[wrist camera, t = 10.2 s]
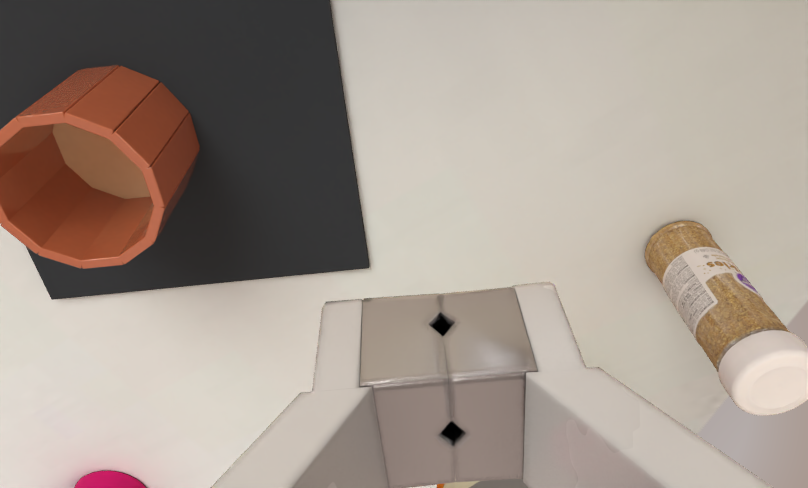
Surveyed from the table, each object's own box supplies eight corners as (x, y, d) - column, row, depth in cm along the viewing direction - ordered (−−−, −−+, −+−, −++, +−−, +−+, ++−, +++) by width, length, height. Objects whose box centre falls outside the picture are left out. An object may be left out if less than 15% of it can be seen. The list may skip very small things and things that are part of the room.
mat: (-112, -49, 33) (-118, -48, 32) (315, -97, 32) (314, -96, 32) (54, 296, 44) (51, 299, 44) (369, 265, 44) (369, 268, 43)
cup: (174, 58, 36) (24, 74, 36) (130, 104, 29) (-52, 124, 29) (213, 193, 40) (80, 207, 40) (182, 259, 34) (24, 275, 34)
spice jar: (722, 229, 43) (846, 367, 32) (684, 281, 45) (787, 427, 34) (665, 209, 42) (771, 344, 31) (629, 263, 44) (716, 408, 33)
